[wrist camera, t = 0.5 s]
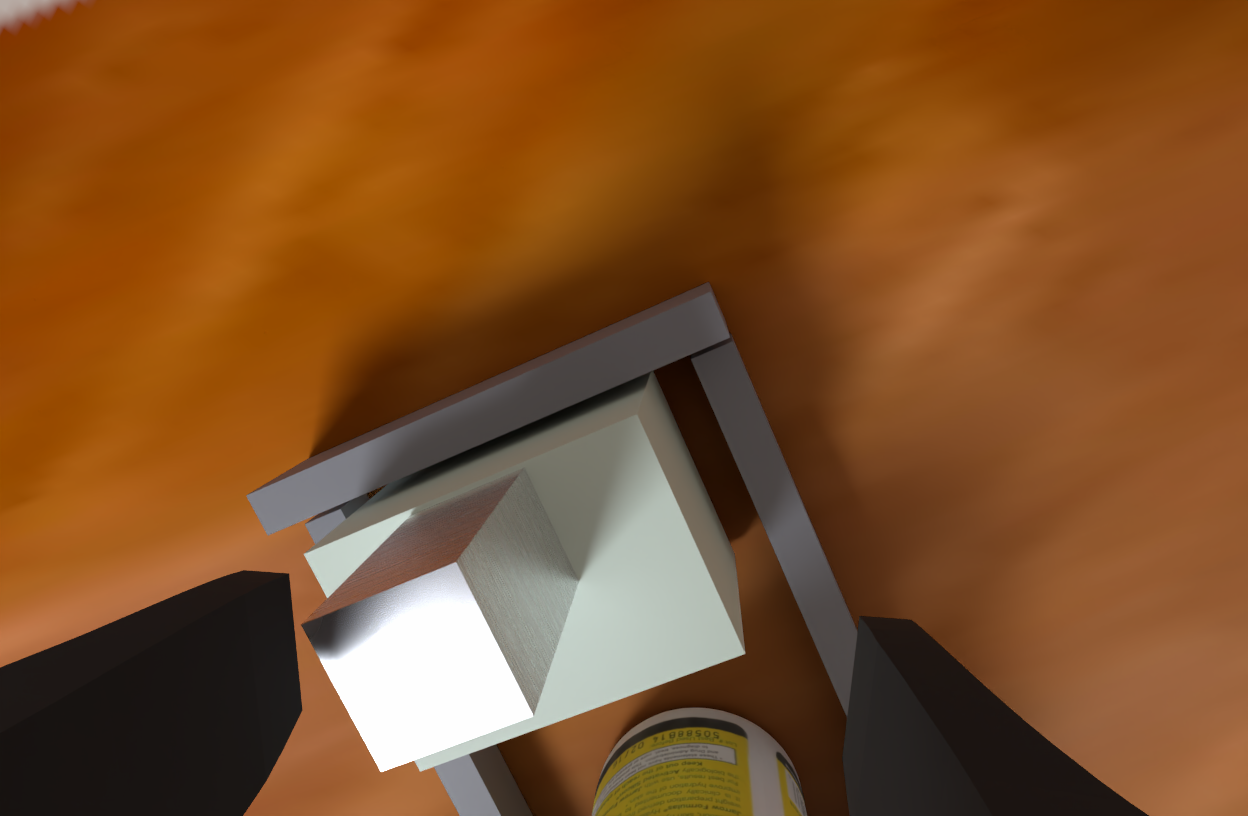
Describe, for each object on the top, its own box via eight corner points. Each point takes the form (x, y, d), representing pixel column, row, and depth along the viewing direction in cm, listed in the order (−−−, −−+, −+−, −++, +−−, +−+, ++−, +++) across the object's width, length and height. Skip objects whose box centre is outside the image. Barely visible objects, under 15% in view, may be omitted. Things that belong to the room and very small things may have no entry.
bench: (590, 998, 24) (556, 1243, 18) (307, 458, 22) (162, 545, 16) (966, 885, 23) (1059, 1117, 17) (708, 282, 20) (713, 305, 14)
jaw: (482, 650, 22) (324, 959, 13) (394, 478, 21) (158, 675, 12) (734, 553, 21) (763, 815, 12) (652, 368, 20) (612, 490, 11)
